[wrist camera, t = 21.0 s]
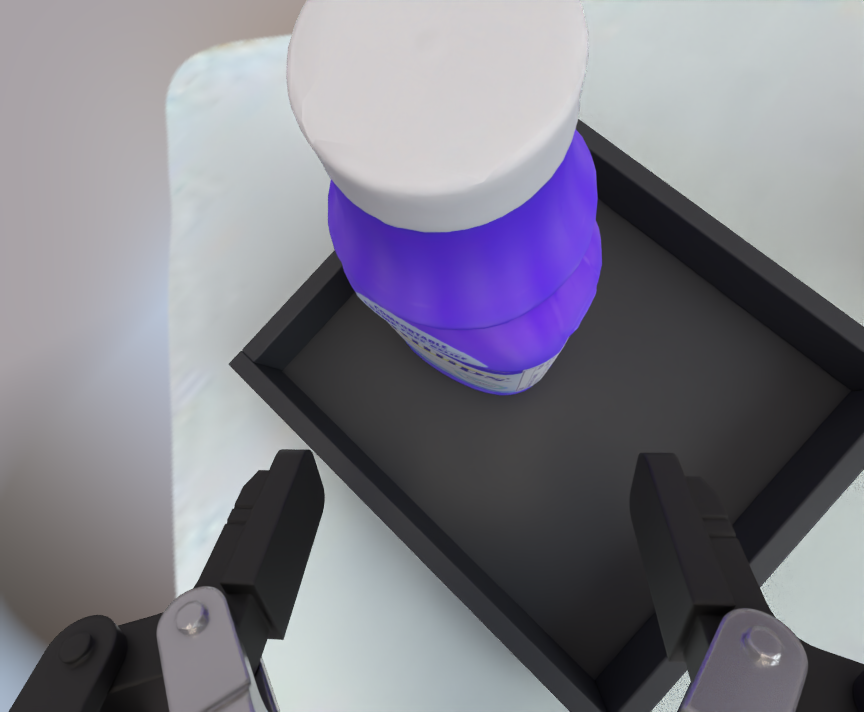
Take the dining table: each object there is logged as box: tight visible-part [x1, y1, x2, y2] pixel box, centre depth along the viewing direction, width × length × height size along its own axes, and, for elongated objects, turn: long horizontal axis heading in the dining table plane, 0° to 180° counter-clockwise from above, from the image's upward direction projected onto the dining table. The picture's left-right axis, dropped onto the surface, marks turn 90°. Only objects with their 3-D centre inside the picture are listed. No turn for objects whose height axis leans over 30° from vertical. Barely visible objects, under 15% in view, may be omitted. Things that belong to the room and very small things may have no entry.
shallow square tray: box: [229, 119, 864, 712], centre depth 22 cm, size 18×21×4 cm
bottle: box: [287, 0, 602, 395], centre depth 15 cm, size 7×6×17 cm
